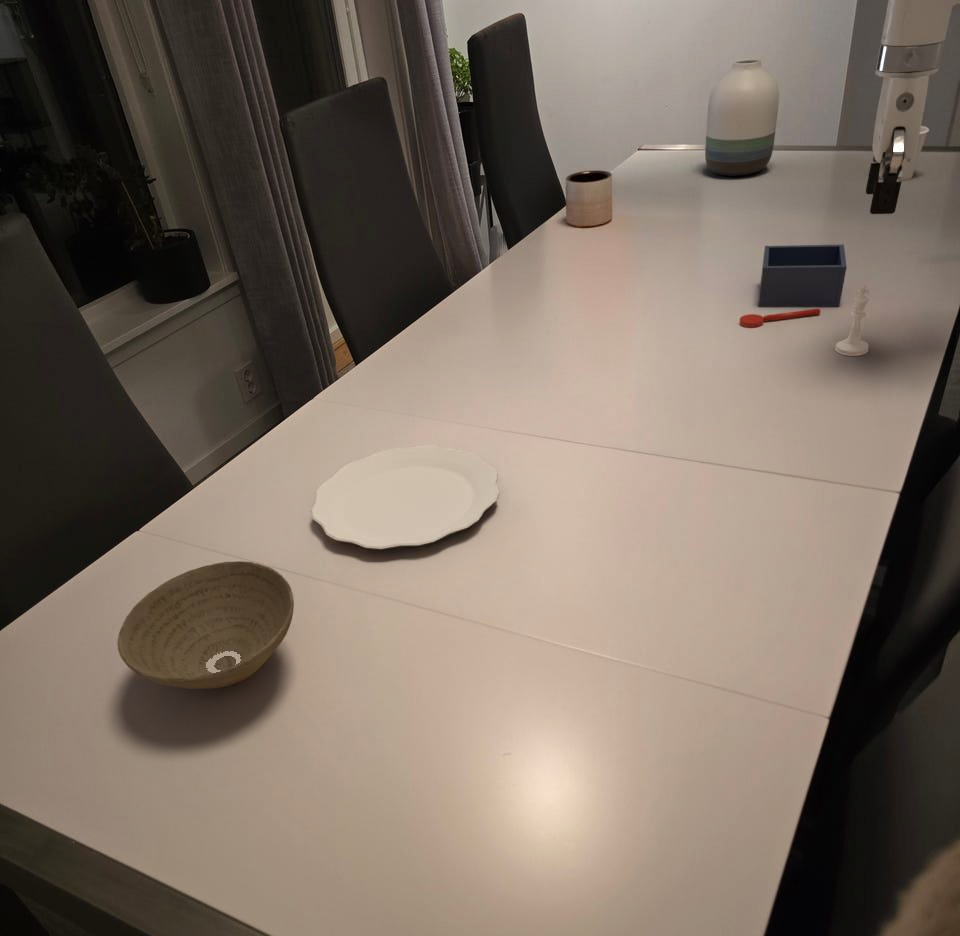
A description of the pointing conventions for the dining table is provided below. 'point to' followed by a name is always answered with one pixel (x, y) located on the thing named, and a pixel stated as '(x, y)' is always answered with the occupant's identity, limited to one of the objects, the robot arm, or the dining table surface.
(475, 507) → the plate
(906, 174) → the dixie cup
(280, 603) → the bowl
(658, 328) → the dining table surface
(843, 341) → the chess piece
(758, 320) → the red spoon
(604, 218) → the planter
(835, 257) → the bin
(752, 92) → the vase
